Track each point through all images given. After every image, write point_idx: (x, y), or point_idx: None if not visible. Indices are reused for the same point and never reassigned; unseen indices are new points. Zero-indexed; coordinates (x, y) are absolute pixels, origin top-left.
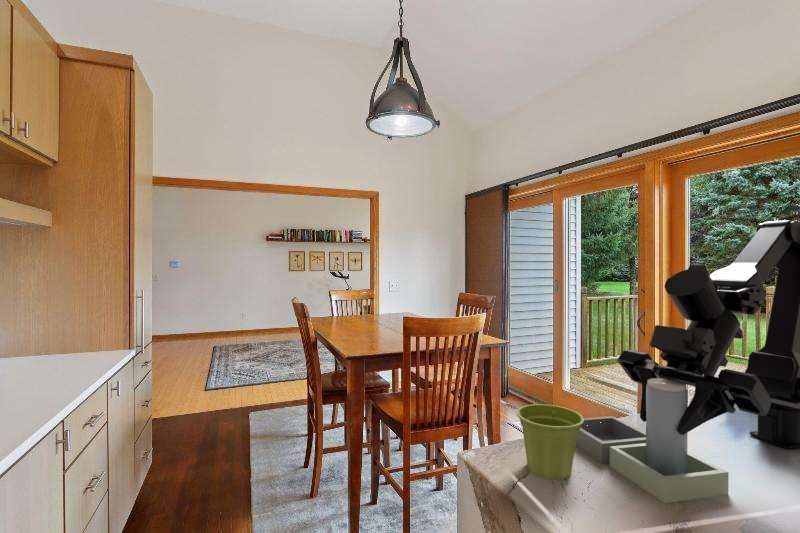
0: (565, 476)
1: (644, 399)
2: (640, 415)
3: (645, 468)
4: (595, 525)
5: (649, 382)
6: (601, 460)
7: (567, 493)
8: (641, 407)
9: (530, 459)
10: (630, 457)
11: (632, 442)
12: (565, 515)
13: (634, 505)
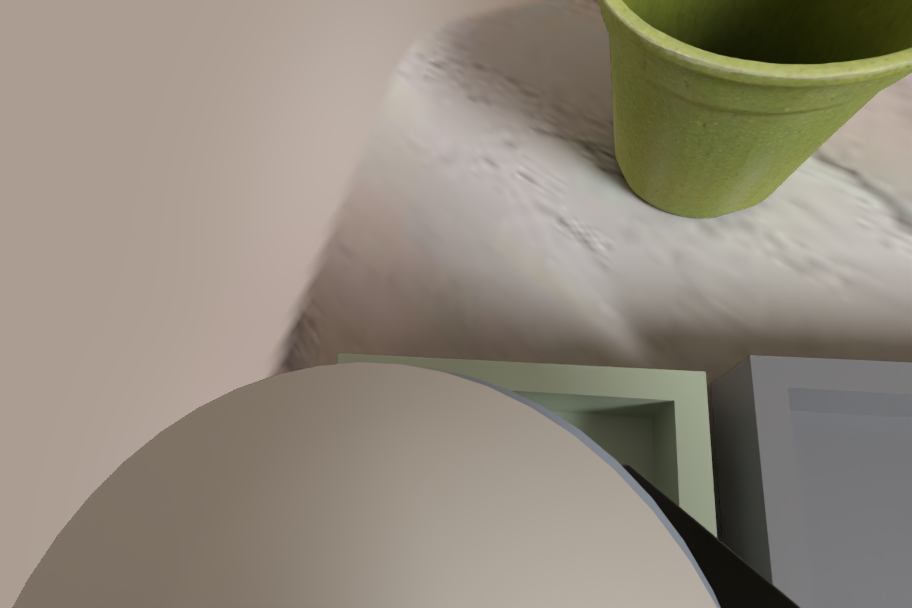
0: (616, 157)
1: (721, 585)
2: (627, 467)
3: (443, 359)
4: (378, 123)
5: (483, 396)
6: (721, 377)
7: (540, 136)
8: (677, 514)
9: (696, 33)
10: (557, 379)
11: None
12: (441, 78)
13: (417, 290)
